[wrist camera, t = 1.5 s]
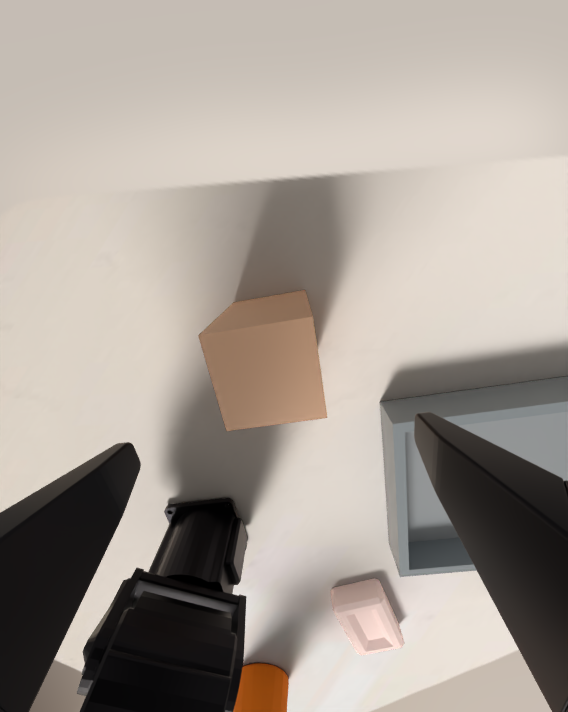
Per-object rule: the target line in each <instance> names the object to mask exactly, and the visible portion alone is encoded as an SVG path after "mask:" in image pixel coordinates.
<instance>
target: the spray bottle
mask: <svg viewBox="0 0 568 712" xmlns="http://www.w3.org/2000/svg"><path fill="white" fill-rule="evenodd" d="M288 684H289V683H288V676H287V675H286V674H285V672H284V671H283V670H282V669H280V668H278V667H276V666H274V665H270V664H265V663H254V664H250V665H246V666H244V667H242V674H241V680H240V685H239V690H238V695H237V699H236V703H235V707H234V710H233V712H287V698H288Z"/></svg>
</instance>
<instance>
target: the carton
mask: <svg viewBox="0 0 568 712" xmlns="http://www.w3.org/2000/svg"><path fill="white" fill-rule="evenodd" d="M198 336H199V339H200V343H201V346H202V350H203V353H204V356H205V360H206V363H207V367H208V370H209V373H210V377H211V380H212V384H213V387H214V390H215V394H216V397H217V401H218V404H219V408H220V411H221V414H222V418H223V421H224V425H225V428H226V431H232V430H240V429H247V428H255V427H262V426H269V425H277V424H284V423H292V422H299V421H307V420H314V419H322V418H327V411H326V404H325V397H324V390H323V383H322V376H321V369H320V362H319V355H318V348H317V341H316V334H315V327H314V320H313V315H312V312H311V308H310V305H309V302H308V298H307V295H306V292H305V290H302V291H296V292H290V293H284V294H279V295H273V296H267V297H261V298H256V299H250V300H244V301H239V302H234V303H233V304H231V305H230V306H229V307H228V308H227V309H226V310H225V311H224V312H223V313H222V314H221V315H220V316H219V317H218V318H217V319H215V320H214V321H213V322H212V323H211V324H210V325H209V326H208V327H207V328H206V329H205V330H204V331H203V332H202V333H200V334H199V335H198Z"/></svg>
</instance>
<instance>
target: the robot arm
mask: <svg viewBox="0 0 568 712" xmlns="http://www.w3.org/2000/svg"><path fill="white" fill-rule="evenodd" d="M414 439H415V443H416V446H417V448H418V451H419V453H420V456H421V458H422V461H423V463H424V466H425V468H426V471H427V473H428V476H429V478H430V481H431V483H432V486H433V488H434V490H435V492H436V494H437V496H438V498H439V500H440V502H441V504H442V506H443V508H444V510H445V512H446V514H447V515H448V517H449V519H450V521H451V523H452V525H453V527H454V529H455V530H456V532H457V534H458V536H459V538H460V540H461V542H462V544H463V545H464V547H465V549H466V551H467V553H468V555H469V557H470V559H471V560H472V562H473V564H474V566H475V568H476V570H477V572H478V573H479V575H480V577H481V579H482V581H483V583H484V585H485V587H486V588H487V590H488V592H489V594H490V596H491V598H492V600H493V602H494V603H495V605H496V607H497V609H498V611H499V613H500V615H501V617H502V618H503V620H504V622H505V624H506V626H507V628H508V630H509V632H510V633H511V635H512V637H513V639H514V641H515V643H516V645H517V647H518V648H519V650H520V652H521V654H522V656H523V658H524V660H525V661H526V663H527V665H528V667H529V669H530V671H531V673H532V675H533V676H534V678H535V680H536V682H537V684H538V686H539V688H540V690H541V692H542V693H543V695H544V697H545V699H546V701H547V703H548V704H549V707H550V708H551V710H552V712H568V481H567V480H565V481H564V480H563V478H561V477H559V476H557V475H555V474H553V473H551V472H549V471H547V470H545V469H543V468H541V467H539V466H537V465H535V464H533V463H531V462H529V461H527V460H525V459H523V458H521V457H519V456H517V455H515V454H513V453H511V452H509V451H507V450H505V449H503V448H501V447H499V446H497V445H495V444H493V443H491V442H489V441H487V440H485V439H483V438H481V437H479V436H477V435H475V434H473V433H471V432H469V431H467V430H465V429H463V428H461V427H459V426H458V425H456V424H454V423H452V422H450V421H448V420H446V419H444V418H442V417H440V416H438V415H436V414H434V413H431V412H423V413H417V414H416V415H415V423H414ZM140 466H141V464H140V460H139V457H138V455H137V453H136V451H135V448H134V446H133V444H131V443H129V442H127V443H118V444H116V445H114V446H112V447H111V448H109V449H107V450H105V451H104V452H102V453H100V454H99V455H97V456H95V457H94V458H92V459H90V460H89V461H87V462H85V463H84V464H82V465H80V466H78V467H77V468H75V469H73V470H72V471H70V472H68V473H67V474H65V475H63V476H62V477H60V478H58V479H57V480H55V481H53V482H51V483H50V484H48V485H46V486H45V487H43V488H41V489H40V490H38V491H36V492H35V493H33V494H31V495H30V496H28V497H26V498H24V499H23V500H21V501H19V502H18V503H16V504H14V505H13V506H11V507H9V508H8V509H6V510H4V511H3V512H1V513H0V712H29V710H30V708H31V706H32V704H33V702H34V700H35V697H36V696H37V694H38V692H39V689H40V687H41V685H42V683H43V681H44V679H45V677H46V675H47V673H48V671H49V669H50V666H51V664H52V662H53V660H54V658H55V656H56V654H57V652H58V650H59V648H60V646H61V644H62V641H63V639H64V637H65V635H66V633H67V631H68V629H69V627H70V625H71V623H72V621H73V618H74V616H75V614H76V612H77V610H78V608H79V606H80V604H81V602H82V600H83V598H84V596H85V593H86V591H87V589H88V587H89V585H90V583H91V581H92V579H93V577H94V575H95V573H96V570H97V568H98V566H99V564H100V562H101V560H102V558H103V556H104V554H105V552H106V550H107V547H108V545H109V543H110V541H111V539H112V537H113V535H114V533H115V531H116V529H117V527H118V525H119V522H120V520H121V518H122V516H123V513H124V511H125V508H126V506H127V503H128V500H129V498H130V495H131V492H132V490H133V487H134V484H135V482H136V479H137V476H138V473H139V471H140ZM165 515H166V517H167V519H168V521H169V527H168V529H167V531H166V533H165V536H164V538H163V540H162V542H161V545H160V547H159V549H158V551H157V554H156V556H155V558H154V560H153V563H152V565H151V567H150V570H149V572H145V571H143V570H144V569H140V568H136V570H135V572H134V574H133V575H132V577H131V578H128V579H127V580H124V581H123V582H122V584H121V586H120V588H119V590H118V592H117V594H116V596H115V598H114V600H113V602H112V604H111V605H110V607H109V609H108V610H107V612H106V613H105V615H104V617H103V618H102V620H101V621H100V623H99V624H98V626H97V627H96V629H95V630H94V632H93V633H92V635H91V636H90V638H89V639H88V641H87V643H86V645H85V647H84V650H83V656H84V661H85V666H84V668H83V671H82V675H83V676H82V679H81V681H80V684H79V687H78V691H77V694H80V695H84V696H86V698H85V700H84V703H83V705H82V708H81V710H80V712H233V710H234V707H235V703H236V699H237V695H238V690H239V685H240V680H241V674H242V666H243V657H244V637H245V613H246V596H243V595H239V596H237V595H234V594H232V592H233V587H234V585H238V584H239V582H240V581H241V574H242V568H243V561H244V555H245V550H246V547H247V535H246V532H245V529H244V526H243V522H242V520H241V518H240V517H238V513H237V510H236V507H235V504H234V501H233V500H232V499H230V498H224V499H215V500H206V501H197V502H189V503H180V504H171V505H168V506H167V507H166V509H165Z"/></svg>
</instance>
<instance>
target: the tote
mask: <svg viewBox="0 0 568 712" xmlns="http://www.w3.org/2000/svg"><path fill="white" fill-rule="evenodd" d="M380 411H381V426H382V442H383V457H384V473H385V488H386V504H387V519H388V535H389V545H390V548H391V551H392V554H393V557H394V560H395V563H396V566H397V569H398V572H399V575H400V577H404V576H416V575H428V574H440V573H452V572H463V571H475V570H476V568H475V566H474V564H473V562H472V560H471V559H470V557H469V555H468V553H467V551H466V549H465V547H464V545H463V544H462V542H461V540H460V538H459V536H458V534H457V532H456V530H455V529H454V527H453V525H452V523H451V521H450V519H449V517H448V515H447V514H446V512H445V510H444V508H443V506H442V504H441V502H440V500H439V498H438V496H437V494H436V492H435V490H434V488H433V486H432V483H431V481H430V478H429V476H428V473H427V471H426V468H425V466H424V463H423V461H422V458H421V456H420V453H419V451H418V448H417V446H416V443H415V439H414V423H415V415H416V414H417V413H423V412H431V413H434V414H436V415H438V416H440V417H442V418H444V419H446V420H448V421H450V422H452V423H454V424H456V425H458V426H459V427H461V428H463V429H465V430H467V431H469V432H471V433H473V434H475V435H477V436H479V437H481V438H483V439H485V440H487V441H489V442H491V443H493V444H495V445H497V446H499V447H501V448H503V449H505V450H507V451H509V452H511V453H513V454H515V455H517V456H519V457H521V458H523V459H525V460H527V461H529V462H531V463H533V464H535V465H537V466H539V467H541V468H543V469H545V470H547V471H549V472H551V473H553V474H555V475H557V476H559V477H561V478H563V480H564V481H565V480H567V481H568V376H565V377H558V378H550V379H543V380H536V381H529V382H521V383H514V384H507V385H499V386H492V387H485V388H477V389H470V390H463V391H456V392H448V393H441V394H434V395H426V396H419V397H412V398H405V399H397V400H390V401H383V402H380Z"/></svg>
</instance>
